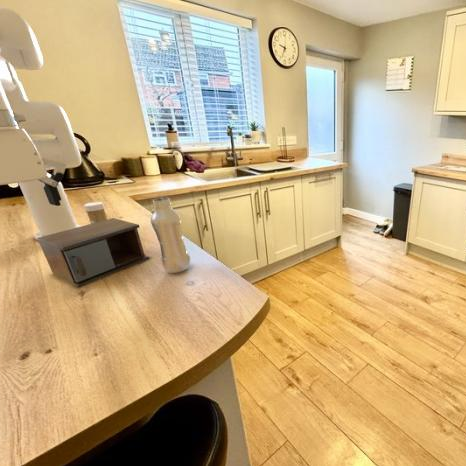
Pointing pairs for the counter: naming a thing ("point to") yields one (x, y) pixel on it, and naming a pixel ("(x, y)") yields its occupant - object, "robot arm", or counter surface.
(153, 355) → the counter surface
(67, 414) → the counter surface
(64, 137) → the robot arm
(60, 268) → the cupboard
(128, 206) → the counter surface
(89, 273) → the sliding door
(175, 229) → the plastic bottle
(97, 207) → the sprinkles bottle
